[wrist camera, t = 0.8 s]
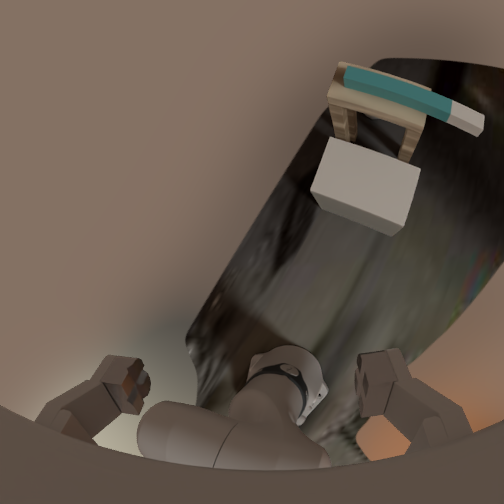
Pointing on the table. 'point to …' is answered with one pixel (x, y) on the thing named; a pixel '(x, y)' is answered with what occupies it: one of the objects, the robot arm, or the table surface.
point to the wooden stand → (372, 111)
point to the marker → (414, 98)
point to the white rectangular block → (365, 186)
